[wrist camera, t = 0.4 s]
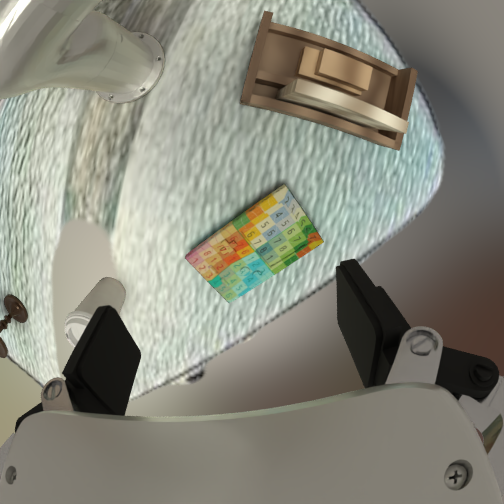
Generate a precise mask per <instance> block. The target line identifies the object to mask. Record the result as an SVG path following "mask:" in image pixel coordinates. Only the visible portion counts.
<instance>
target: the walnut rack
mask: <svg viewBox="0 0 504 504" xmlns="http://www.w3.org/2000/svg"><path fill="white" fill-rule="evenodd" d="M272 16H273V13H272V12H268V11H264V14H263V17H262V20H261V24H260V27H259V31H258V34H257V38H256V42H255V45H254V49H253V53H252V57H251V60H250V64H249V68H248V72H247V76H246V80H245V84H244V88H243V92H242V96H241V101H240V104H242V105H247V106H252V107H257V108H261V109H266V110H270V111H274V112H278V113H282V114H286V115H290V116H293V117H297V118H301V119H304V120H308V121H311V122H314V123H318V124H321V125H324V126H327V127H330V128H334V129H337V130H339V131H342V132H345V133H348V134H351V135H354V136H356V137H359V138H362V139H365V140H367V141H370V142H372V143H375V144H377V145H381V146H384V147H388V148H392V149H395V150H398V151H399V150H400V147H401V143H402V139H403V135H404V133H399V132H394V131H388V130H382V129H375V128H368V127H361V126H359V125H356V124H353V123H351V122H348V121H345V120H342V119H339V118H336V117H334V116H331V115H328V114H324V113H321V112H318V111H315V110H312V109H308V108H305V107H301V106H298V105H294V104H291V103H287V102H283V101H279V100H275V99H276V95H277V91H279V90H280V89H282V88H283V87H285V86H287V85H288V84H290V83H291V82H293V81H295V80H296V79H301V80H304V81H308V82H311V83H314V84H317V85H320V86H323V87H326V88H329V89H332V90H335V91H338V92H341V93H343V94H346V95H349V96H351V97H354V98H356V99H359V100H361V101H364V102H366V103H368V104H371V105H373V106H375V107H378V108H380V109H382V110H384V111H386V112H389V113H391V114H393V115H395V116H397V117H399V118H401V119H403V120H405V121H407V120H408V115H409V111H410V107H411V102H412V97H413V93H414V88H415V82H416V77H417V70H415V69H413V68H406V69H400V70H398V69H396V68H394V67H392V66H390V65H388V64H386V63H384V62H382V61H380V60H378V59H376V58H374V57H372V56H369V55H367V54H365V53H363V52H360V51H358V50H356V49H353V48H351V47H348V46H346V45H343V44H341V43H338V42H336V41H333V40H330V39H327V38H324V37H322V36H319V35H316V34H312V33H309V32H306V31H303V30H299V29H296V28H292V27H289V26H285V25H281V24H277V23H273V22H271V19H272ZM305 46H307V47H310V48H313V49H316V50H319V51H321V50H323V49H324V48H326V49H329V50H332V51H334V52H337V53H340V54H342V55H345V56H347V57H350V58H352V59H355V60H357V61H359V62H362V63H364V64H366V65H369V66H371V67H373V69H372V74H371V78H370V83H369V87H368V91H362V93H361V95H360V96H353V95H350V94H348V93H345V92H342V91H340V90H337V89H334V88H331V87H328V86H325V85H322V84H319V83H316V82H313V81H310V80H307V79H303V78H300V77H296V76H295V74H296V70H297V66H298V62H299V58H300V54H301V50H302V49H303V48H304V47H305Z"/></svg>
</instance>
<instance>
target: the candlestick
mask: <svg viewBox="0 0 504 504" xmlns="http://www.w3.org/2000/svg"><path fill="white" fill-rule="evenodd" d="M4 305H5V307H6V309H7V311H8V313H9V314H8V316H7V315H5V316H4V318H5V319H4V320H0V333H1V332H2V330H3V329H7V326H8V325H7V324H8V323H11V318H12V317H13V318H14V319H15V320H16V321H18V322H20V323H24V322H26V320H27V319H28V313H27V310H26V308H25V306H24V305H23V304H22V302H21V301H20V300H19V299H18V298H17V297H15V296H13V295H11V294H8V295H7V296H6V297H5V298H4ZM7 354H8V349H7V347H6V345H5V343H4V341H3V340H2V338H1V337H0V357H1V358H5V357H6V356H7Z"/></svg>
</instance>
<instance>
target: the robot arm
mask: <svg viewBox="0 0 504 504" xmlns="http://www.w3.org/2000/svg"><path fill="white" fill-rule="evenodd" d="M101 1H102V0H0V100H1V99H7V98H12V97H16V96H19V95H22V94H25V93H28V92H31V91H34V90H38V89H43V88H69V89H81V90H91V91H96V92H97V93H98V95H99V96H100V97H102V98H103V99H104V100H106V101H109V102H112V103H129V102H132V101H135V100H137V99H139V98H141V97H143V96H144V95H146V94H147V93H148V92H149V91H150V90H151V89H152V88H153V87H154V86H155V85H156V83H157V82H158V81H159V79H160V77H161V75H162V72H163V69H164V63H165V56H164V51H163V48H162V46H161V45H160V43H159V42H158V41H157V40H156V39H155V38H154V37H152V36H151V35H149V34H146V33H142V32H129V31H128V30H127V29H125V28H124V27H122V26H121V25H120V24H118V23H117V22H115V21H114V20H112V19H111V18H109V17H108V16H106V15H105V14H103V13H101V12H99V11H96V10H93V9H94V8H95V7H96V6H97V5H98V4H99V3H100V2H101ZM142 37H143V38H142ZM160 58H161V60H160V61H158V60H159V59H160ZM143 89H145V91H144V92H143ZM112 96H113V99H112ZM336 281H337V320H338V324H339V327H340V330H341V332H342V334H343V336H344V339H345V341H346V344H347V346H348V348H349V351H350V353H351V355H352V358H353V360H354V362H355V365H356V368H357V370H358V372H359V375H360V377H361V380H362V382H363V385H364V387H365V389H361V390H357V391H352V392H348V393H344V394H340V395H336V396H332V397H328V398H323V399H318V400H313V401H309V402H304V403H299V404H293V405H288V406H283V407H277V408H271V409H263V410H256V411H248V412H240V413H231V414H219V415H207V416H186V417H140V416H124V415H125V411H126V408H127V404H128V401H129V397H130V393H131V390H132V386H133V383H134V379H135V376H136V372H137V369H138V366H139V362H140V359H141V352H140V350H139V348H138V346H137V345H136V343H135V342H134V340H133V338H132V337H131V335H130V333H129V332H128V330H127V328H126V327H125V325H124V323H123V321H122V320H121V318H120V316H119V314H118V312H117V311H116V309H115V308H113V307H112V306H111V305H105V306H99V307H98V308H97V309H96V311H95V312H94V314H93V316H92V318H91V319H90V321H89V323H88V325H87V326H86V328H85V330H84V332H83V334H82V335H81V337H80V339H79V341H78V343H77V345H76V346H75V348H74V350H73V352H72V354H71V356H70V358H69V360H68V362H67V364H66V366H65V368H64V370H63V372H62V374H63V375H64V376H65V377H66V380H65V381H64V380H63V379H62V378H58V377H57V378H53V379H51V380H50V381H48V382H47V383H46V384H45V386H44V387H43V389H42V392H41V400H42V402H41V403H40V404H38V405H37V406H35V407H34V408H32V409H31V410H30V411H28V412H27V413H25V414H24V415H22V416H21V417H20V418H18V420H17V422H16V427H15V434H14V433H13V434H12V435H11V436H10V437H9V439H8V440H7V441H6V442H5V443H4V444H3V445H2V447H1V448H0V504H503V501H502V496H503V494H504V377H501V376H500V375H499V371H498V368H497V366H496V365H495V363H494V362H493V361H491V360H490V359H488V358H485V357H482V356H477V355H474V354H470V353H466V352H462V351H458V350H455V349H451V348H447V347H444V346H443V341H442V339H441V336H440V335H439V334H438V333H437V332H436V331H434V330H433V329H430V328H428V327H414V328H412V329H411V327H410V326H409V324H408V323H407V322H406V320H405V318H404V317H403V316H402V314H401V313H400V311H399V310H398V308H397V307H396V306H395V304H394V303H393V302H392V300H391V299H390V298H389V296H388V295H387V293H386V292H385V290H384V289H383V288H382V287H381V286H378V287H375V285H374V284H373V283H372V281H371V280H370V278H369V277H368V276H367V274H366V273H365V271H364V270H363V269H362V268H361V266H360V265H359V263H358V262H357V261H356V260H355V259H350V260H346V261H341V262H340V266H337V267H336ZM472 422H473V423H474V424H473V423H472ZM475 427H476V428H477V429H478V430H479V431H480V432H481V433H482V435H483V438H484V442H483V443H482V442H481V439H480V437H479V435H478V433H477V431H476V429H475Z"/></svg>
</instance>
